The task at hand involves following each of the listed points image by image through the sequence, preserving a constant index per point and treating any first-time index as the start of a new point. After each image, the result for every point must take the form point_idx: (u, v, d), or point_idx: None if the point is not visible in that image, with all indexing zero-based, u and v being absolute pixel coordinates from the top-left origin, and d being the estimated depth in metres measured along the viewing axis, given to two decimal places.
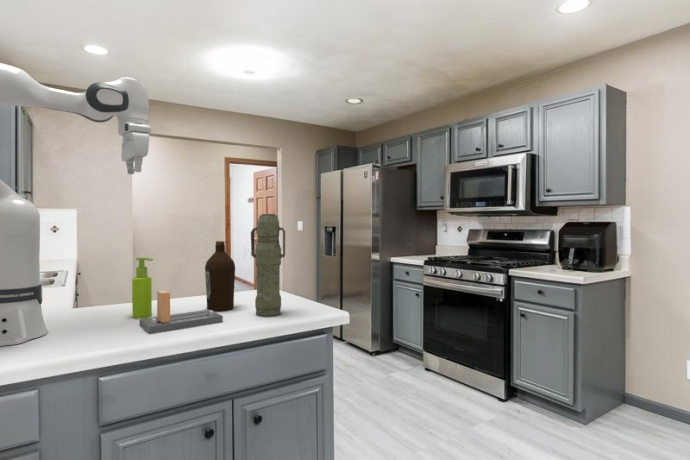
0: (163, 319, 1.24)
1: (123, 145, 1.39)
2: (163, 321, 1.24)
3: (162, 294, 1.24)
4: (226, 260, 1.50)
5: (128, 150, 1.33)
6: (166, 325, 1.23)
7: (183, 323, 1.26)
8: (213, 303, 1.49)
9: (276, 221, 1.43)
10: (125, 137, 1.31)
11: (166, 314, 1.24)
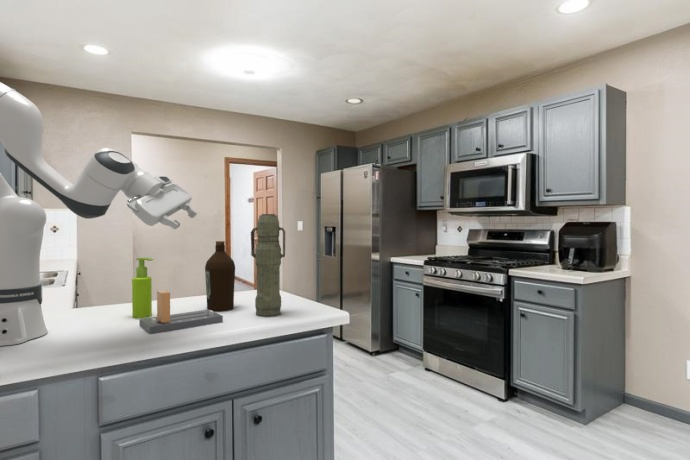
0: (163, 319, 1.24)
1: (146, 203, 1.12)
2: (163, 321, 1.24)
3: (162, 294, 1.24)
4: (226, 260, 1.50)
5: (171, 200, 1.19)
6: (166, 325, 1.23)
7: (183, 323, 1.26)
8: (213, 303, 1.49)
9: (276, 221, 1.43)
10: (162, 189, 1.19)
11: (166, 314, 1.24)
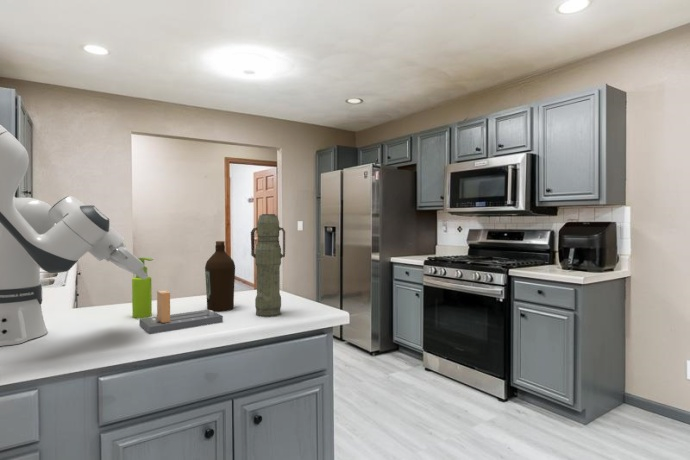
0: (163, 319, 1.24)
1: None
2: (163, 321, 1.24)
3: (162, 294, 1.24)
4: (226, 260, 1.50)
5: None
6: (166, 325, 1.23)
7: (183, 323, 1.26)
8: (213, 303, 1.49)
9: (276, 221, 1.43)
10: None
11: (166, 314, 1.24)
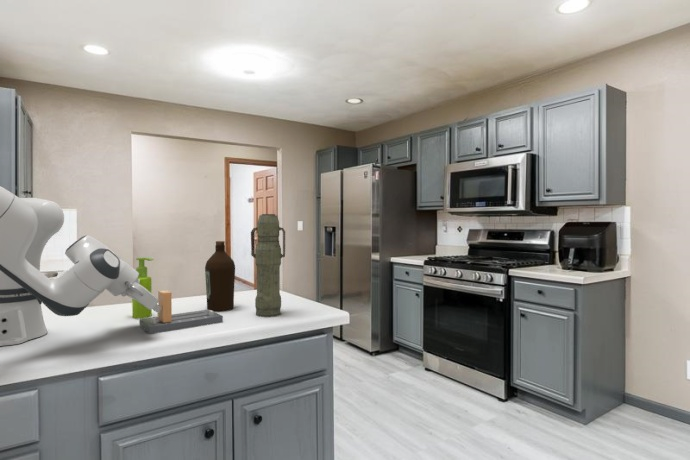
0: (164, 319, 1.24)
1: None
2: (164, 321, 1.24)
3: (163, 294, 1.24)
4: (226, 260, 1.50)
5: None
6: (166, 325, 1.23)
7: (183, 323, 1.26)
8: (213, 303, 1.49)
9: (276, 221, 1.43)
10: None
11: (167, 314, 1.25)
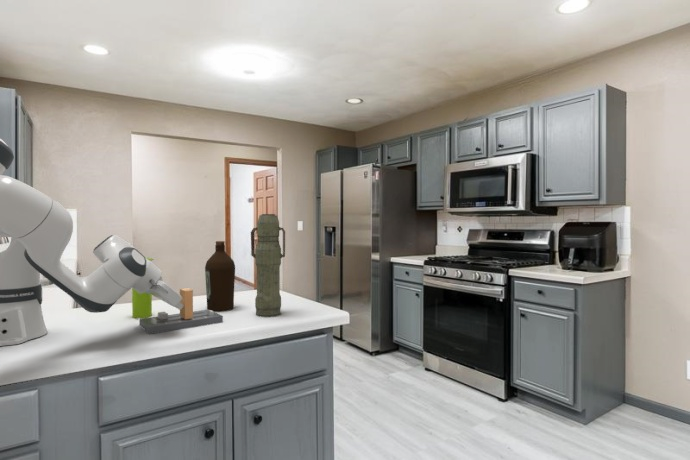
0: (186, 316, 1.28)
1: None
2: (186, 318, 1.28)
3: (185, 291, 1.28)
4: (226, 260, 1.50)
5: None
6: (166, 325, 1.23)
7: (183, 323, 1.26)
8: (213, 303, 1.49)
9: (276, 221, 1.43)
10: None
11: (188, 311, 1.29)
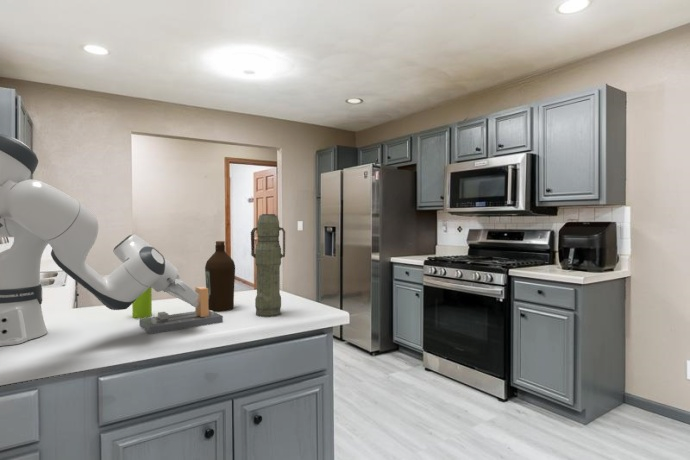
0: (202, 313, 1.31)
1: None
2: (202, 315, 1.31)
3: (201, 290, 1.31)
4: (226, 260, 1.50)
5: None
6: (166, 325, 1.23)
7: (183, 323, 1.26)
8: (213, 303, 1.49)
9: (276, 221, 1.43)
10: None
11: (204, 309, 1.32)
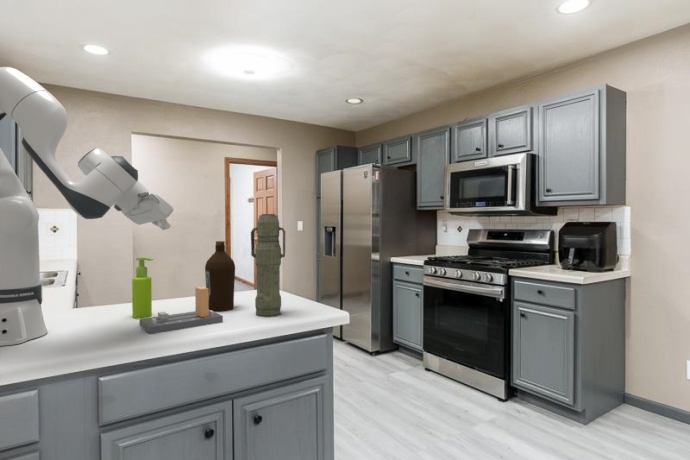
0: (202, 313, 1.31)
1: None
2: (202, 315, 1.31)
3: (201, 290, 1.31)
4: (226, 260, 1.50)
5: None
6: (166, 325, 1.23)
7: (183, 323, 1.26)
8: (213, 303, 1.49)
9: (276, 221, 1.43)
10: None
11: (204, 309, 1.32)
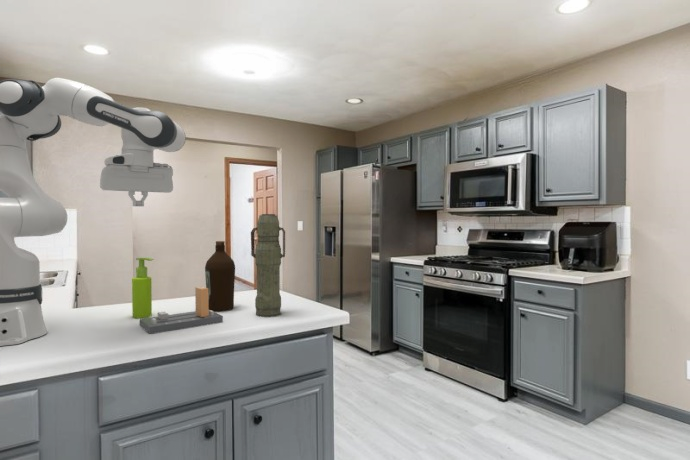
0: (202, 313, 1.31)
1: None
2: (202, 315, 1.31)
3: (201, 290, 1.31)
4: (226, 260, 1.50)
5: None
6: (166, 325, 1.23)
7: (183, 323, 1.26)
8: (213, 303, 1.49)
9: (276, 221, 1.43)
10: None
11: (204, 309, 1.32)
